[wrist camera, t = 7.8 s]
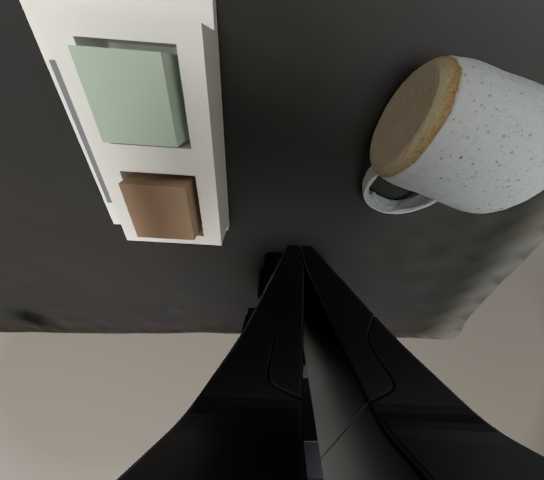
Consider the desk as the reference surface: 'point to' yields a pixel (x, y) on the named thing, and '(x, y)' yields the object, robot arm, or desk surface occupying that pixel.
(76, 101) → the key panel
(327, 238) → the desk surface
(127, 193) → the walnut key
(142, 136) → the sage key
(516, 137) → the ceramic mug
